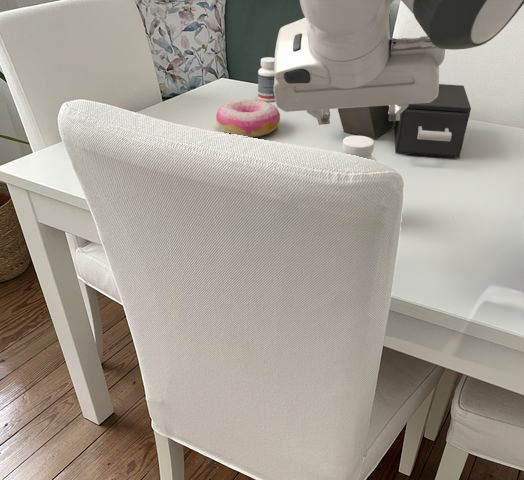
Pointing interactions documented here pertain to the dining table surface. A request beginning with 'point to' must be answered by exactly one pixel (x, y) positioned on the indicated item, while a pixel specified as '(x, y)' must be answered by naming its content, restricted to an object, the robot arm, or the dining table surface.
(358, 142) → the supplement bottle
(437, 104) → the box
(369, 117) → the dark brown block
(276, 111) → the donut
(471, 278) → the dining table surface
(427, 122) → the air fryer basket
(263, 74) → the pill bottle
